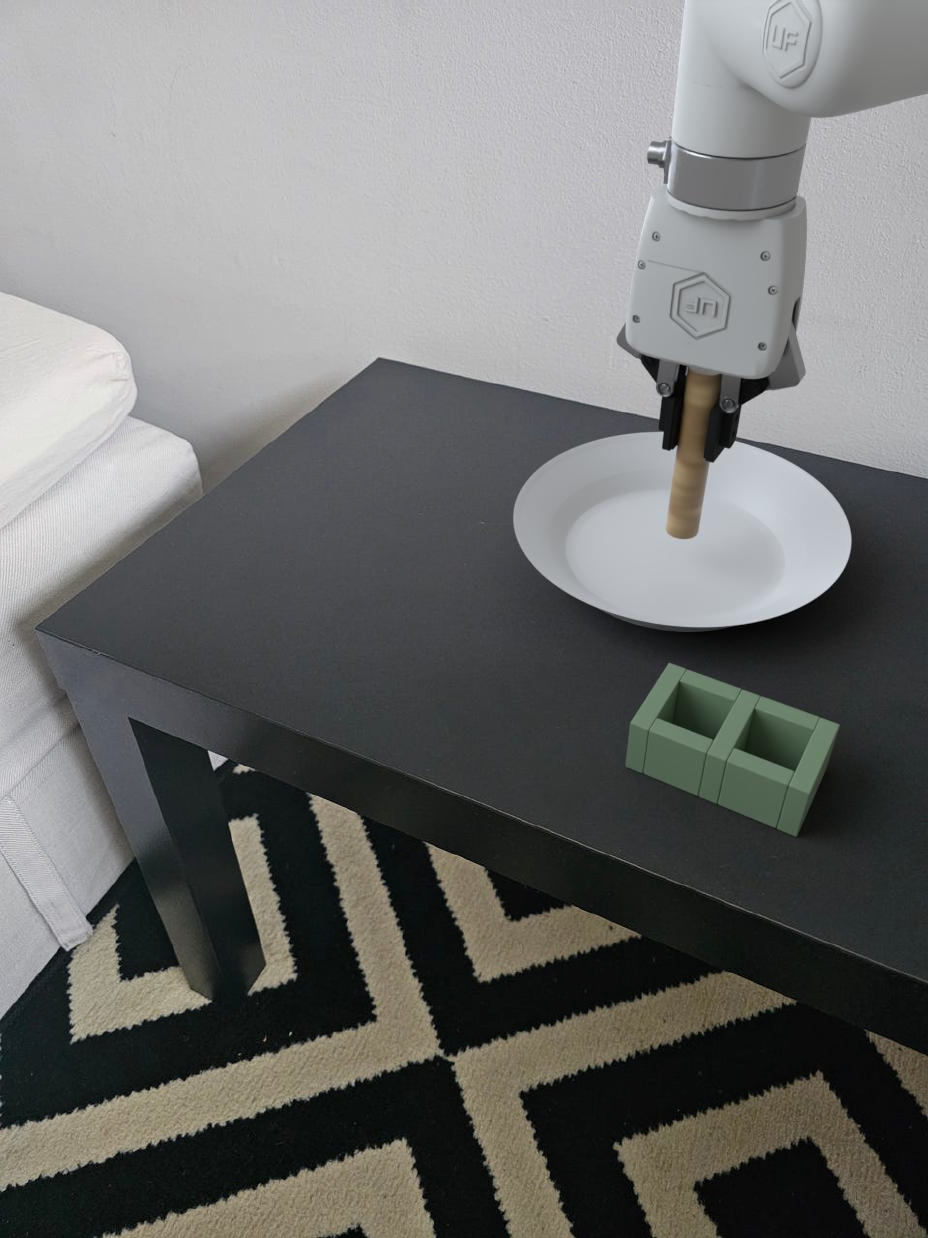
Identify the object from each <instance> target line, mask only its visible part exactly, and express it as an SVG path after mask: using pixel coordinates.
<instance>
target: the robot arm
mask: <svg viewBox="0 0 928 1238" xmlns="http://www.w3.org/2000/svg"><path fill="white" fill-rule="evenodd" d="M683 5H684V6H683V13H682V24H681V25H682V26H681V34H680V35H681V36H680V45H679V56H678V66H677V76H676V87H675V95H674V96H675V97H674V106H673V116H672V125H671V126H672V127H671V135H670V136H669V137H668V138H664V139H663V140H654V139H653V140H652V141H651V142H650V143H649V144H648V145H649V146H648V148H647V153H646V160H647V164H649V165H655V166H658V168H659V169H663V174H664V175H663V185H661V186H660V187H658V188H656V189H655V190H653V192H652V193H651V196H650V199H649V201H648V205H647V208H646V212H645V216H644V220H643V224H642V227H641V232H640V236H639V241H638V246H637V249H636V255H635V261H634V265H633V270H632V277H631V282H630V288H629V295H628V300H627V310H626V318H625V323H624V324H623V326H622V328H621V329H620V331H619V332H618V334H617V335H616V343H617V345H618V346H619V347H620V348H621V349H623V350H624V351H626V352H627V353H628V354H630V355H631V356H632V357H634V358H635V359H639V360H640V363H641V365H642V366H643V367H644V369H645V370H646V371H647V373H648V374H649V376H650V377H651V378H652V379H653V381H654V382H655V383H656V385H655V390H656V393H657V394H658V395H659V396H660V397H661V401H660V409H659V419H658V431H659V432H664V434H663V442H662V449H664V450H667V451H670V450H673V449H674V448H675V447H676V446H677V443H678V435H679V428H680V421H681V414H682V407H683V399H684V392H685V385H686V378H687V370H688V366H690V367H695V368H699V369H703V370H708V371H712V372H716V373H721V374H722V383H721V393H720V397H719V398H718V402H717V404H716V405H715V406H714V407H713V408H712V410H711V412H710V415H709V422H708V429H707V436H706V443H705V449H704V456H703V458H704V459H705V460H706V461H708V462H711V463H714V461H715V460H716V459H717V458H718V456H719V455H720V454H721V452H722V451H723V450H724V448H728V449H730V448H731V447H732V445H733V444H734V442H735V441H736V439H737V435H738V431H739V430H738V429H739V425H740V419H741V412H742V407H743V405H745V404H747V403H748V402H750V401H751V400H753V399H755V398H757V397H758V396H760V395H762V394H763V393H765V392H767V391H772V392H773V391H778V390H783V389H789V388H794V387H797V386H798V385H799V384H800V383H801V381H802V380H803V379H804V378H805V375H806V371H807V370H806V367H805V366H806V365H805V362H804V358H803V355H802V351H801V347H800V344H799V343H800V342H799V340H798V336H797V331H798V327H799V321H800V317H801V316H800V315H801V309H802V302H803V301H802V300H803V293H804V283H805V274H806V261H807V244H808V211H807V210H808V209H807V201H806V199H805V197H803V196H800V195H798V191H799V188H800V181H801V176H802V170H803V165H804V159H805V154H806V149H807V141H808V138H809V132H810V127H811V122H812V118H814V119H827V118H828V119H829V118H835V117H842V116H846V115H851V114H855V113H859V112H862V111H867V110H870V109H874V108H875V109H876V108H878V107H883V106H887V105H889V104H893V103H895V102H899V101H903V100H907V99H913V98H916V97H920V96H924V95H928V0H684V4H683Z"/></svg>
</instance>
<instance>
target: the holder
mask: <svg viewBox="0 0 928 1238" xmlns="http://www.w3.org/2000/svg"><path fill="white" fill-rule="evenodd" d="M840 727H841V725H840V724H839V723H837V722H834V721H831V720H829V719H826V718H823V717H820V716H818V715H815V714H812V713H809V712H807V711H804V710H801V709H799V708H796V707H794V706H793V707H792V706H790V705H787V704H785V703H782V702H779V701H776V700H775V699H771V698H768V697H765V696H761V695H759V694H757V693H754V692H752V691H751V692H750V691H748V690H745V689H742V688H740V687H738V686H735V685H732V684H729V683H726V682H724V681H720V680H717V679H715V678H712V677H710V676H707V675H704V674H701V673H698V672H695V671H693V670H690V669H686V668H685V667H682V666H679V665H677V664H674V663H672V662H668V663H667V666H666V667H665V668H664V670H663V671H662V673H661V674H660V675H659V677H658V679H657V680H656V682H655V684H654V686H653V687H652V688H651V690H650V691H649V693H648V694H647V696H646V698H645V699H644V701H643V702H642V704H641V706H640V707H639V709H638V710H637V712H636V713H635V715H634V716H633V718H632V720H631V721H630V723H629V731H628V740H627V741H628V742H627V749H626V756H625V757H626V758H625V767H626V768H628V769H631V770H633V771H635V772H638V773H640V774H644V775H645V776H648V777H650V778H652V779H655V780H658V781H660V782H662V783H665V784H667V785H670V786H672V787H674V788H677V789H679V790H682V791H683V792H687V793H689V794H691V795H694V796H695V797H699V798H700V799H703V800H706V801H708V802H711V803H714V804H718V806H720V807H723V808H726V809H727V810H730V811H732V812H735V813H737V814H740V815H742V816H744V817H747V818H749V819H752V820H754V821H756V822H759V823H761V824H764V825H765V826H769V827H770V828H771V827H772V828H774V829H777V830H778V831H781V832H783V833H785V834H788V835H790V836H792V837H796V838H797V837H798V836H799V833H800V831H801V828H802V826H803V824H804V822H805V819H806V817H807V815H808V813H809V810H810V808H811V806H812V803H813V801H814V799H815V796H816V795H817V791H818V790H819V787H820V785H821V783H822V780H823V777H824V775H825V773H826V771H827V768H828V765H829V762H830V758H831V755H832V753H833V749H834V746H835V743H836V739H837V736H838V733H839V730H840Z"/></svg>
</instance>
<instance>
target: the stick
mask: <svg viewBox="0 0 928 1238" xmlns="http://www.w3.org/2000/svg"><path fill="white" fill-rule="evenodd" d="M721 383H722V374H721V373H716V372H712V371H708V370H703V369H699V368H695V367H690V366H688V370H687V378H686V385H685V392H684V399H683V407H682V414H681V421H680V428H679V435H678V443H677V450H676V457H675V464H674V472H673V479H672V486H671V493H670V500H669V508H668V515H667V522H666V531H667V533H668V534H669V535H670V536H672V537H674V538H678V539H690V538H693V537H695V536H696V535H697V534H698V531H699V525H700V519H701V513H702V507H703V501H704V494H705V488H706V482H707V476H708V470H709V464H710V462H708V461H706V460H705V459H704V458H703V456H704V449H705V443H706V436H707V429H708V422H709V415H710V412H711V410H712V408H713V407H714V406H715V405H716V404H717V402H718V398H719V397H720V393H721Z"/></svg>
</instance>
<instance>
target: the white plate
mask: <svg viewBox="0 0 928 1238" xmlns="http://www.w3.org/2000/svg"><path fill="white" fill-rule="evenodd" d="M663 434H664V432H663V431H645V432H634V433H633V432H632V433H626V434H619V435H613V436H608V437H604V438H600V439H596V440H593V441H589V442H586V443H583V444H580V445H577V446H575V447H573V448H570V449H567V450H565V451H564V452H562V453H559V454H558V455H556V456H554V457H553V458H551V459H550V460H548V461H546V462H545V463H544V464H542V465H541V466H540V467H539V468H537V470H535V471H534V472H533V473H532V474H531V475H530V476H529V477H528V479H527V480H526V481H525V483H524V484H523V486H522V487H521V489H520V491H519V492H518V494H517V497H516V500H515V502H514V507H513V513H512V514H513V515H512V518H513V519H512V521H513V530H514V534H515V537H516V539H517V542H518V544H519V547H520V548H521V550H522V552H523V554H524V556H525V557H526V558H527V560H528V561H529V562H530V564H532V566H533V567H534V568H535V570H537V571H538V572H539V573H540V574H541V576H543V577H545V578H546V579H547V580H548V581H549V582H551V583H552V584H553V585H555V586H557V587H558V588H559V589H561V590H562V591H563V592H565V593H566V594H568V595H570V596H572V597H574V598H575V599H577V600H580V601H581V602H583V603H585V604H587V605H589V606H591V607H594V608H597V609H599V610H601V611H602V612H604V613H605V614H608V615H610V616H612V617H614V618H616V619H619V620H620V621H624V622H626V623H630V624H633V625H636V626H640V627H644V628H648V629H655V630H659V631H668V632H681V633H682V632H683V633H684V632H685V633H686V632H687V633H688V632H689V633H695V632H709V631H718V630H723V629H727V628H731V627H735V626H740V625H742V626H743V625H747V624H754V623H758V622H762V621H766V620H771V619H773V618H777V617H779V616H782V615H785V614H788V613H790V612H792V611H795V610H798V609H799V608H801V607H803V606H805V605H807V604H809V603H811V602H812V601H814V600H815V599H817V598H818V597H820V596H822V594H824V593H825V592H826V591H828V590H829V589H830V588H831V586H833V584H834V583H836V582H837V580H838V579H839V578H840V576H841V574H842V573H843V572H844V569H845V568H846V566H847V563H848V561H849V559H850V554H851V550H852V532H851V526H850V524H849V520H848V518H847V515H846V514H845V511H844V509H843V507H842V506H841V504H840V503H839V501H838V500H837V499H836V498H835V496H834V495H833V493H831V492H830V490H828V489H827V487H825V485H823V484H822V483H821V482H820V481H819V480H818V479H816V477H814V476H813V475H811V474H810V473H809V472H807V471H805V469H802V468H801V467H799V466H798V465H796V464H794V463H793V462H791V461H789V460H787V459H785V458H783V457H781V456H778V455H776V454H775V453H773V452H770V451H767V450H765V449H763V448H759V447H757V446H753V445H750V444H747V443H744V442H740V441H736V440H735V442H734V444H733V445H732V447H731V448H730V449H728V448H724V450H723V451H722V452H721V454H720V455H719V456H718V458H717V459H716V460H715V461H714V463H711V462H710V464H709V470H708V476H707V482H706V488H705V494H704V501H703V507H702V513H701V519H700V525H699V531H698V534H697V535H696V536H695V537H693V538H690V539H678V538H674V537H672V536H670V535H669V534H668V533H667V531H666V522H667V515H668V508H669V500H670V493H671V486H672V479H673V472H674V464H675V457H676V450H677V446H676V447H675V448H674V449H673V450H670V451H667V450H664V449H662V442H663Z"/></svg>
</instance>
